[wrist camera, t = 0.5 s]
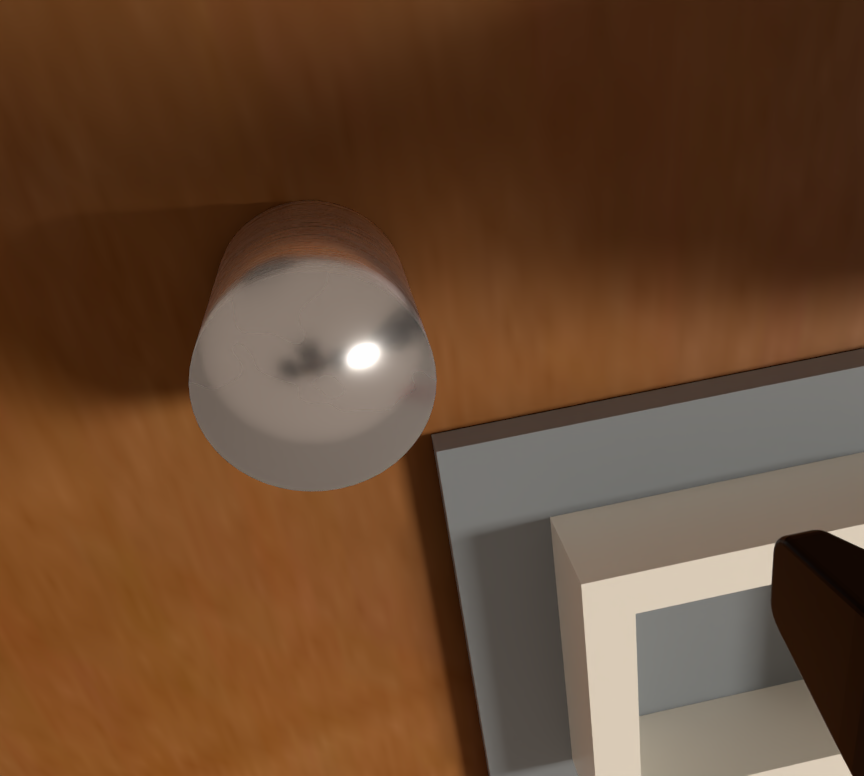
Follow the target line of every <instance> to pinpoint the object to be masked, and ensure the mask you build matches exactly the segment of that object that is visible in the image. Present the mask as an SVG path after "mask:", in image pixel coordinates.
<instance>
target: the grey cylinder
mask: <svg viewBox="0 0 864 776" xmlns="http://www.w3.org/2000/svg"><path fill="white" fill-rule="evenodd" d="M189 393H190V400H191V404H192V408H193V412H194V415H195V417H196V420H197V422H198V425H199V427H200V428H201V430H202V432H203V434H204V435H205V437H206V439H207V440H208V441H209V442H210V444H211V445H212V446H213V448H214V449H215V450H216V451H217V452H218V453H219V454H220V455H221V456H222V457H223V458H224V459H225V460H226V461H227V462H229V463H230V464H231V465H233V466H234V467H235V468H237V469H238V470H240V471H241V472H243V473H245V474H247V475H248V476H250V477H252V478H254V479H257V480H259V481H261V482H264V483H266V484H270V485H273V486H276V487H280V488H285V489H290V490H298V491H327V490H333V489H340V488H344V487H348V486H351V485H355V484H358V483H360V482H363V481H365V480H368V479H370V478H372V477H374V476H376V475H378V474H380V473H381V472H383V471H384V470H386V469H387V468H389V467H390V466H392V465H393V464H394V463H396V462H397V461H398V460H399V459H400V458H401V457H402V456H404V455H405V454H406V452H407V451H408V450H409V449H410V448H411V447H412V446H413V445H414V443H415V442H416V440H417V439H418V438H419V436H420V435H421V433H422V431H423V429H424V428H425V426H426V424H427V422H428V419H429V417H430V414H431V411H432V408H433V404H434V399H435V394H436V368H435V362H434V358H433V354H432V350H431V347H430V344H429V342H428V339H427V336H426V333H425V330H424V327H423V324H422V322H421V319H420V316H419V313H418V310H417V307H416V304H415V302H414V299H413V296H412V293H411V290H410V287H409V284H408V282H407V279H406V276H405V273H404V270H403V267H402V264H401V262H400V259H399V257H398V254H397V252H396V251H395V249H394V247H393V245H392V243H391V242H390V241H389V239H388V238H387V237H386V235H385V234H384V233H383V232H382V231H381V230H380V229H379V228H378V227H377V226H376V225H375V224H374V223H372V222H371V221H370V220H369V219H367V218H366V217H364V216H363V215H361V214H359V213H358V212H356V211H354V210H351V209H349V208H347V207H344V206H342V205H338V204H335V203H331V202H324V201H315V200H303V201H294V202H289V203H285V204H281V205H278V206H275V207H273V208H270V209H268V210H266V211H264V212H262V213H261V214H259V215H257V216H255V217H254V218H253V219H251V220H250V221H249V222H248V223H246V224H245V225H244V226H243V227H242V228H241V229H240V230H239V231H238V232H237V234H236V235H235V236H234V238H233V239H232V240H231V242H230V243H229V245H228V247H227V249H226V250H225V252H224V255H223V257H222V260H221V263H220V266H219V269H218V272H217V276H216V279H215V282H214V285H213V289H212V292H211V295H210V299H209V302H208V305H207V308H206V312H205V315H204V318H203V322H202V325H201V328H200V331H199V335H198V338H197V341H196V345H195V348H194V351H193V355H192V359H191V364H190V369H189Z"/></svg>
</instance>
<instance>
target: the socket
mask: <svg viewBox="0 0 864 776" xmlns="http://www.w3.org/2000/svg"><path fill="white" fill-rule="evenodd" d="M431 436H432V442H433V448H434V454H435V460H436V466H437V472H438V478H439V484H440V490H441V496H442V502H443V507H444V513H445V519H446V525H447V531H448V537H449V543H450V549H451V555H452V561H453V567H454V573H455V579H456V585H457V591H458V597H459V602H460V608H461V614H462V620H463V626H464V632H465V638H466V644H467V650H468V656H469V662H470V668H471V674H472V680H473V686H474V692H475V697H476V703H477V709H478V715H479V721H480V727H481V733H482V739H483V745H484V751H485V757H486V763H487V769H488V775H489V776H852V774H851V773H850V771H849V769H848V767H847V765H846V763H845V761H844V759H843V757H842V756H841V754H840V752H839V750H838V748H837V746H836V744H835V742H834V740H833V738H832V736H831V734H830V732H829V730H828V728H827V726H826V724H825V722H824V720H823V718H822V716H821V714H820V712H819V710H818V708H817V706H816V704H815V702H814V700H813V698H812V696H811V694H810V692H809V690H808V688H807V686H806V684H805V682H804V680H803V678H802V676H801V674H800V672H799V670H798V668H797V666H796V664H795V662H794V660H793V658H792V656H791V654H790V652H789V650H788V648H787V646H786V644H785V642H784V640H783V638H782V636H781V634H780V632H779V630H778V628H777V626H776V624H775V621H774V618H773V614H772V610H771V603H770V597H771V581H772V566H773V551H774V546H775V543H776V541H777V540H778V539H779V538H781V537H782V536H785V535H790V534H795V533H800V532H805V531H809V530H823V531H826V532H828V533H831V534H833V535H835V536H837V537H839V538H841V539H843V540H846V541H848V542H850V543H852V544H854V545H856V546H858V547H861V548H863V549H864V349H859V350H854V351H849V352H844V353H839V354H834V355H829V356H824V357H819V358H814V359H809V360H804V361H798V362H793V363H788V364H783V365H778V366H773V367H768V368H763V369H758V370H753V371H748V372H743V373H738V374H733V375H728V376H723V377H718V378H713V379H708V380H703V381H698V382H693V383H688V384H683V385H678V386H673V387H668V388H663V389H658V390H653V391H648V392H643V393H638V394H633V395H628V396H623V397H618V398H613V399H608V400H603V401H598V402H593V403H588V404H583V405H578V406H573V407H568V408H563V409H558V410H553V411H548V412H543V413H538V414H533V415H528V416H523V417H518V418H513V419H508V420H503V421H498V422H493V423H488V424H483V425H478V426H473V427H468V428H462V429H457V430H452V431H447V432H442V433H437V434H432V435H431Z"/></svg>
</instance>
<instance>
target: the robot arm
mask: <svg viewBox="0 0 864 776" xmlns="http://www.w3.org/2000/svg"><path fill="white" fill-rule="evenodd" d="M770 603H771V610H772V614H773V618H774V621H775V624H776V626H777V628H778V630H779V632H780V634H781V636H782V638H783V640H784V642H785V644H786V646H787V648H788V650H789V652H790V654H791V656H792V658H793V660H794V662H795V664H796V666H797V668H798V670H799V672H800V674H801V676H802V678H803V680H804V682H805V684H806V686H807V688H808V690H809V692H810V694H811V696H812V698H813V700H814V702H815V704H816V706H817V708H818V710H819V712H820V714H821V716H822V718H823V720H824V722H825V724H826V726H827V728H828V730H829V732H830V734H831V736H832V738H833V740H834V742H835V744H836V746H837V748H838V750H839V752H840V754H841V756H842V757H843V759H844V761H845V763H846V765H847V767H848V769H849V771H850V773H851V774H852V776H864V549H863V548H861V547H858V546H856V545H854V544H852V543H850V542H848V541H846V540H843V539H841V538H839V537H837V536H835V535H833V534H831V533H828V532H826V531H823V530H809V531H805V532H800V533H795V534H790V535H785V536H782V537H781V538H779V539H778V540H777V541H776V543H775V546H774V551H773V566H772V581H771V597H770Z"/></svg>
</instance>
